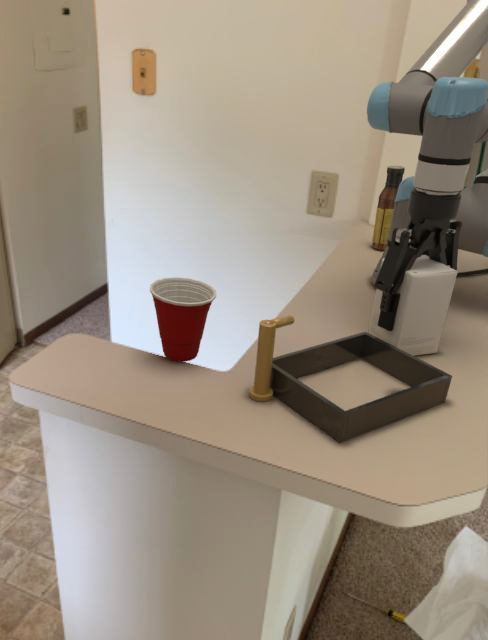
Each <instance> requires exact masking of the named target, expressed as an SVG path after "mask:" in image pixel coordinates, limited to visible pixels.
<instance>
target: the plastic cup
mask: <svg viewBox="0 0 488 640" xmlns="http://www.w3.org/2000/svg"><path fill="white" fill-rule="evenodd" d="M149 292H150V294H151V297H152V301H153V304H154V310H155V315H156V321H157V327H158V333H159V338H160V342H161V348H162V353H163V355H164V357H165V358H166V359H167V360H169V361H172V362H176V363H177V362H178V363H179V362H180V363H181V362H182V363H185V362H189V361H190V362H191V361H193V360H195V359H196V358H197V357H198V354H199V351H200V346H201V342H202V339H203V335H204V331H205V327H206V322H207V318H208V314H209V311H210V309H211V306H212V304H213V302H214V300H215V299H216V298H217V290H216V289H215V288H214V287H213V286H212V285H211V284H208V283H206V282H204V281H201V280H197V279H193V278H189V277H178V276H176V277H175V276H174V277H164V278H161V279H156V280H154V282H151V284H150V285H149Z"/></svg>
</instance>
